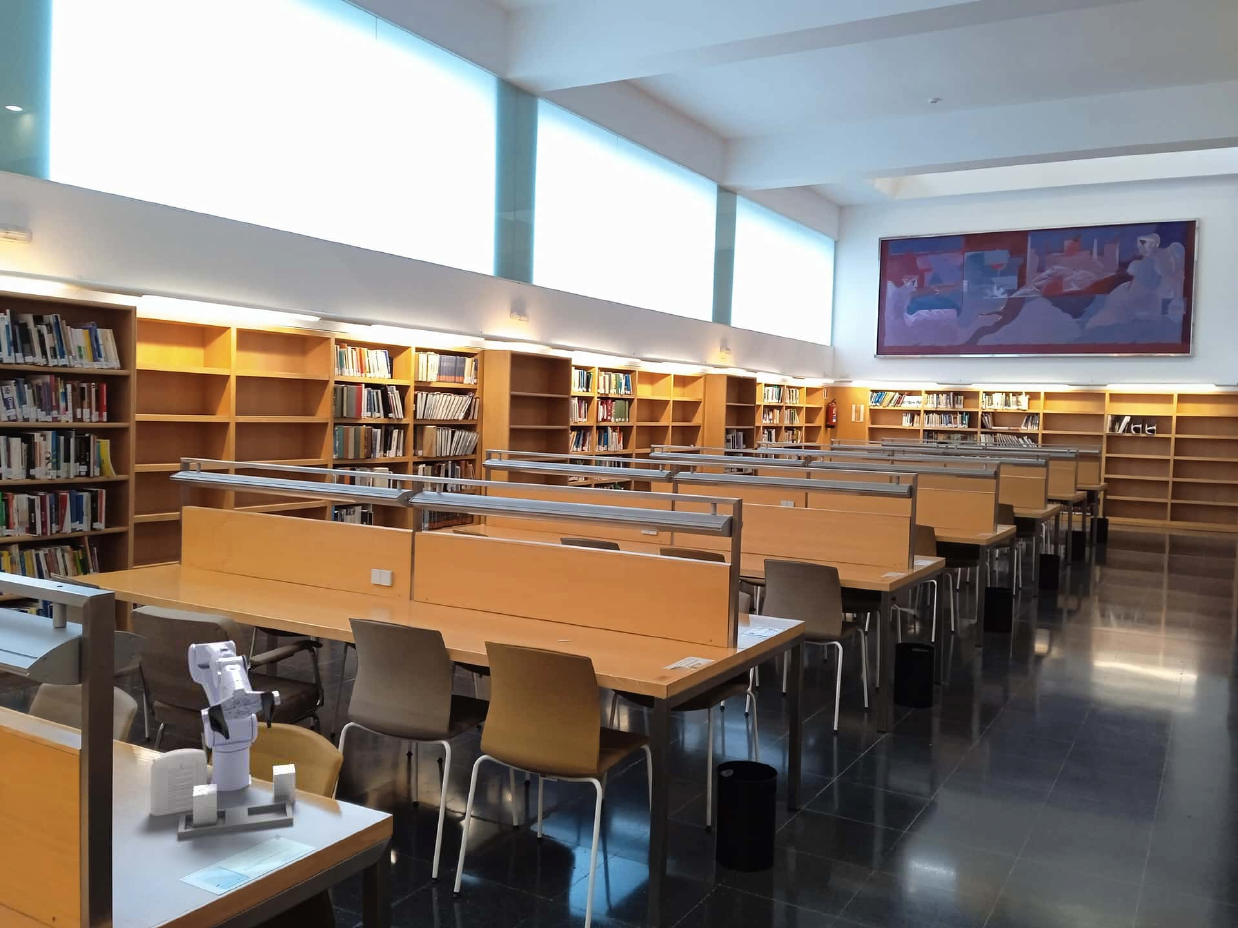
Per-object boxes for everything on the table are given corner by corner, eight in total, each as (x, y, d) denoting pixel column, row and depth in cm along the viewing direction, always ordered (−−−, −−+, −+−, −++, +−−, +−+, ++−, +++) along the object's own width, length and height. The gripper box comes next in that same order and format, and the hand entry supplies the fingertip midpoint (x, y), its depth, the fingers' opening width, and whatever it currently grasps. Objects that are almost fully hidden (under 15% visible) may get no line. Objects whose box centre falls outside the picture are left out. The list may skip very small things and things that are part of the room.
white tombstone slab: (204, 803, 196) (204, 742, 196) (209, 810, 193) (209, 748, 192) (148, 813, 190) (148, 751, 190) (152, 821, 187) (152, 757, 186)
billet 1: (194, 822, 185) (194, 785, 184) (216, 819, 186) (216, 783, 186) (193, 832, 180) (193, 795, 180) (216, 829, 182) (216, 792, 181)
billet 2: (273, 799, 198) (273, 766, 198) (293, 797, 200) (293, 763, 200) (274, 808, 194) (274, 774, 194) (295, 806, 195) (295, 772, 195)
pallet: (180, 824, 186) (180, 813, 186) (290, 810, 193) (290, 800, 193) (177, 842, 177) (177, 832, 177) (293, 827, 185) (293, 817, 185)
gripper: (195, 685, 193) (205, 722, 182) (271, 667, 199) (285, 701, 188) (200, 715, 195) (210, 753, 184) (275, 696, 202) (288, 731, 191)
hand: (248, 729), depth 186 cm, fingers open, 7 cm apart
